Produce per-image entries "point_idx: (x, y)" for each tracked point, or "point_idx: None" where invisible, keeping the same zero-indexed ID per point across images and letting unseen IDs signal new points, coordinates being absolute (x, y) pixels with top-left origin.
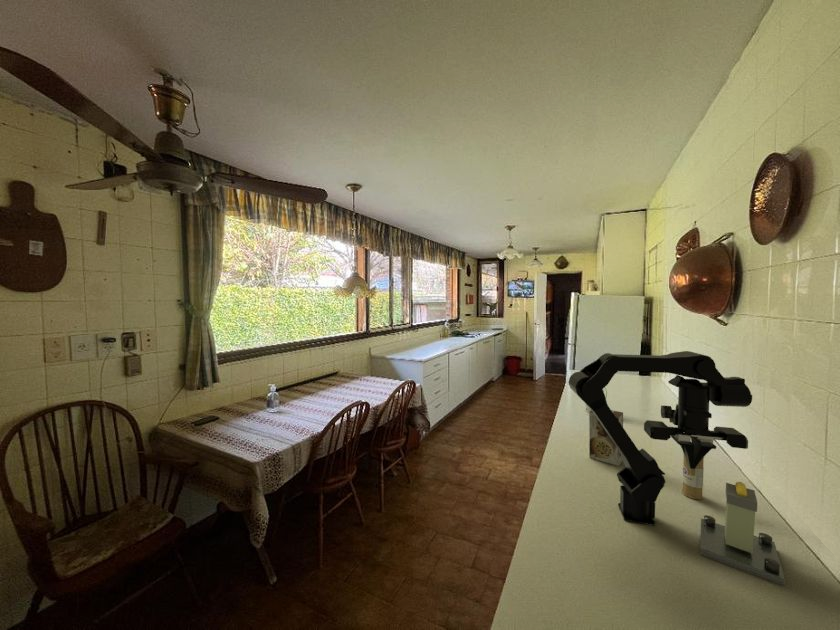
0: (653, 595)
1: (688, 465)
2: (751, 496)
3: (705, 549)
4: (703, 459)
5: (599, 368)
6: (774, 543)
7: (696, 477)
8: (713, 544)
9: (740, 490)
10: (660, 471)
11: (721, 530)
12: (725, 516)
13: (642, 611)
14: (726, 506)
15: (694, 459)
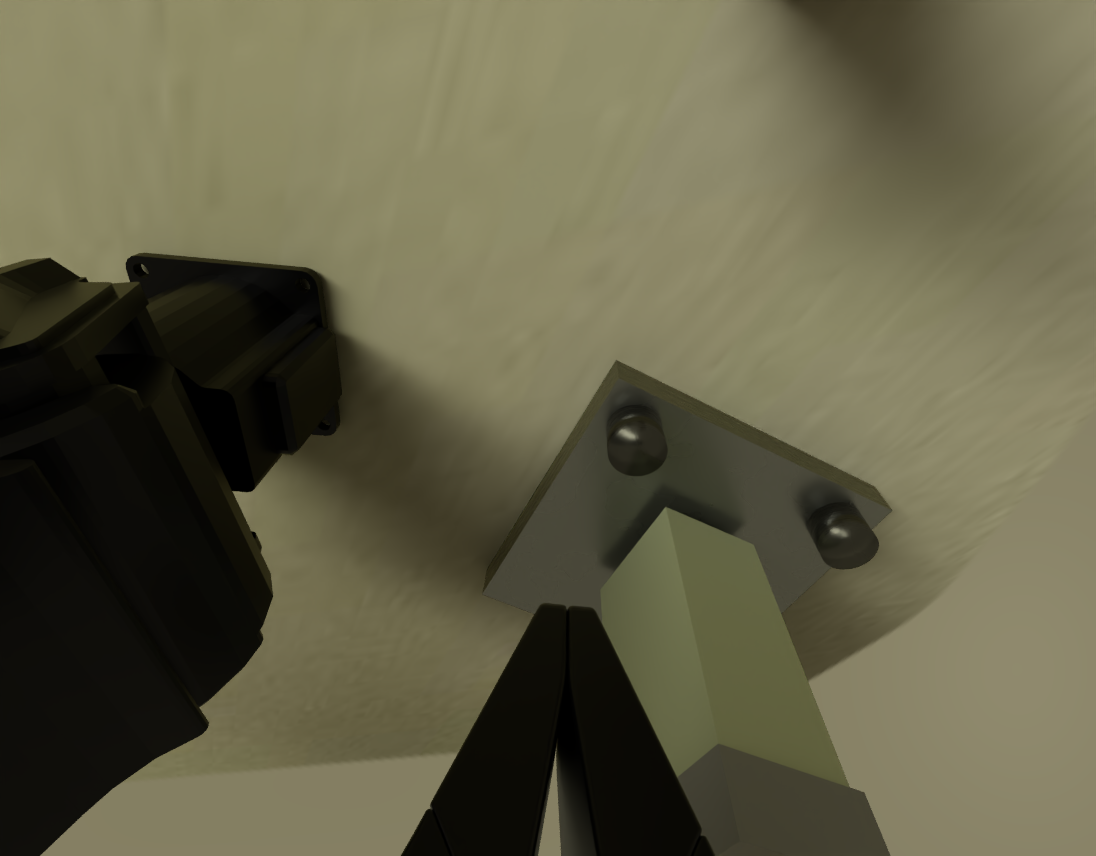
0: (271, 719)
1: (533, 622)
2: None
3: (498, 599)
4: None
5: None
6: (881, 520)
7: None
8: (553, 569)
9: None
10: (142, 755)
11: (668, 469)
12: (680, 574)
13: (238, 754)
14: (676, 672)
15: (564, 845)
